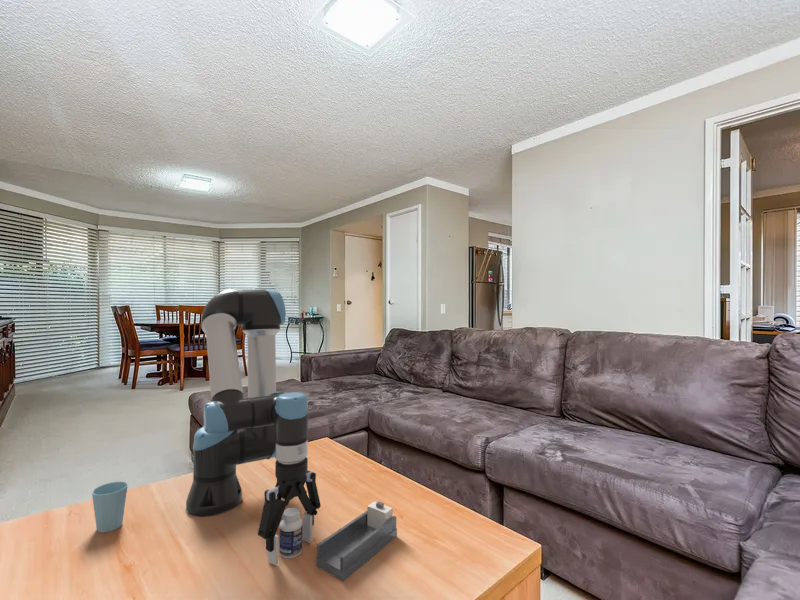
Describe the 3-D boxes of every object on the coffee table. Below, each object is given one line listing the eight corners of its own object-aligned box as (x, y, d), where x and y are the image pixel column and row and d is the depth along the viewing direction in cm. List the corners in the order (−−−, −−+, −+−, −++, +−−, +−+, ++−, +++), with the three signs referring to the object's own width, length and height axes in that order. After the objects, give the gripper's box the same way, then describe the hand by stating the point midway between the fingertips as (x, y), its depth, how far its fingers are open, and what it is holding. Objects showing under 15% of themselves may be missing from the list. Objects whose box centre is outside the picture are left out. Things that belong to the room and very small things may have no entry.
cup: (133, 517, 109) (133, 480, 109) (118, 533, 101) (118, 493, 101) (102, 520, 108) (102, 482, 108) (85, 536, 100) (85, 496, 100)
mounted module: (367, 525, 102) (367, 502, 102) (374, 520, 105) (374, 497, 105) (385, 532, 99) (385, 509, 99) (392, 527, 101) (392, 504, 101)
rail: (316, 566, 89) (316, 544, 89) (371, 525, 106) (371, 506, 106) (343, 581, 84) (343, 558, 84) (396, 536, 101) (396, 516, 101)
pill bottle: (296, 560, 91) (296, 518, 91) (275, 557, 92) (275, 516, 92) (306, 546, 96) (306, 507, 96) (286, 543, 98) (286, 504, 98)
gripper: (261, 479, 83) (260, 584, 83) (335, 447, 101) (334, 534, 101) (240, 470, 87) (240, 570, 87) (315, 441, 106) (314, 524, 106)
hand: (291, 551), depth 94 cm, fingers open, 10 cm apart
